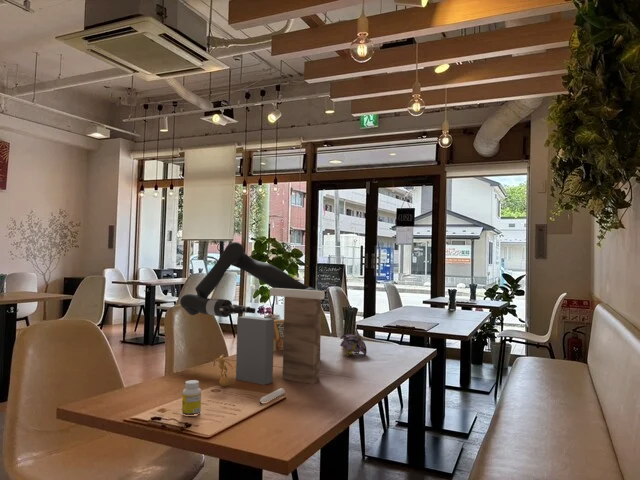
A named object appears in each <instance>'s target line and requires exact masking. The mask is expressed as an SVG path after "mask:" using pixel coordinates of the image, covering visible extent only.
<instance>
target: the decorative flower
mask: <svg viewBox="0 0 640 480" xmlns="http://www.w3.org/2000/svg"><path fill="white" fill-rule="evenodd" d="M339 339H340V340H342V339H343V340H342V342H341V343H340V345H339V346H341V347H344V348H345V349H346V351H347V352H346V357H347V356H349V357H350V356H353V355H354V354H353V353H354V352H358V353H357V354H359V353H360V352H361V353H363V356H364V355H365V356H364V357H366V356H367V353H368V352H367V346H366V343H365V341H364V340H363V339H362V338H361V336H360V335H358V334H357V335H356V334H352V333H348V334H347V333H346V334H343V335H341V336H340V338H339Z"/></svg>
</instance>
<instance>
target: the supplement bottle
mask: <svg viewBox="0 0 640 480" xmlns="http://www.w3.org/2000/svg"><path fill="white" fill-rule="evenodd" d="M199 382H200V381H199V380H196V379H193V380H191V379H190V380H186V381H185V382H184V385H185V386H184V387H185V388H184V389H183V390H182V403H181V404H182V405H181V406H182V407H181V408H182V409H181V411H182V412H181V413H183V414H185V415H194V414H198V413H200V412H201V413H202V411H201V410H202V389H201V388H200V383H199ZM201 413H200V414H201Z"/></svg>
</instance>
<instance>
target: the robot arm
mask: <svg viewBox="0 0 640 480" xmlns="http://www.w3.org/2000/svg"><path fill="white" fill-rule="evenodd" d="M231 266H234V267H235V268H238V269H240V270H242V271H244V272H246V273H249V274H250V275H252V277H254V278H256V279H257V280H260V281H261V282H262V283H264V284H266V285H268V286H269V287H270V288H284V289H300V290H316V291H318V290H317V289H316V288H314V287H312V286H309V285H307V284H304V283H302V282H300V281H298V280H297V279H295V278H294V277H293V276H291V275H290V274H288V273H287V272H286V271H283V270H282V269H280V268H278V267H277V266H275V265H273V264H271V263H268V262H264V261H259V260H257V259H254V258H252V257H251V256H249V255H248V254H247V253H245V248H244V247H243V245H242V243H239V242H237V241H233V242H230V243H229V244H227V245H226V246H225V248H224V250H223V252H222V253H221V255H220V256H219V258H218V260H217V261H216V262H215V264H214V265H213V266H212V268H211V269H210V270H209V272H207V274H206V275H205V276H204V277H203V278H202V279H201V281H200V282H198V284H197V286H196V287H195V292H196V294H195V293H186V294H184V295H183V296H181V297H180V301H179V302H180V303H179V304H180V306H181V307H182V308H183V309H184V311H185V312H186V313H188V314H189V315H190V316H195V315H198V314H199V313H200V314H203V315H211V316H214V317H220V318H221V317H222V318H228V317H230V315H236V314H239V315H243V313H245V314H256V308H255V307H251V306H245V305H242V304H241V305H238V304H233V303H232V301H231V300H229V299H222V298H210V297H209V296H210V295H211V294H212V292H213V291H214V290H215V289H216V288H217V286H218V285H219V284H220V282H221V280H222V278H223V276H224V275H225V274H226V273H227V270H228V269H229V268H230V267H231Z"/></svg>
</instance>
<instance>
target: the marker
mask: <svg viewBox="0 0 640 480" xmlns="http://www.w3.org/2000/svg"><path fill="white" fill-rule="evenodd" d="M285 393H286V391H285V389H284V388H282V387H281V388H277V389H276V390H274V391H272V392H270V393H269V394H266V395H264V396H262V397H260V399H259V402H258V404H259V403H261V402H267V401H269V400H271V399H273V398H275V397H277V398H279V397H281V396H283V395H285ZM278 396H279V397H278ZM275 399H276V398H275Z"/></svg>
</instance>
